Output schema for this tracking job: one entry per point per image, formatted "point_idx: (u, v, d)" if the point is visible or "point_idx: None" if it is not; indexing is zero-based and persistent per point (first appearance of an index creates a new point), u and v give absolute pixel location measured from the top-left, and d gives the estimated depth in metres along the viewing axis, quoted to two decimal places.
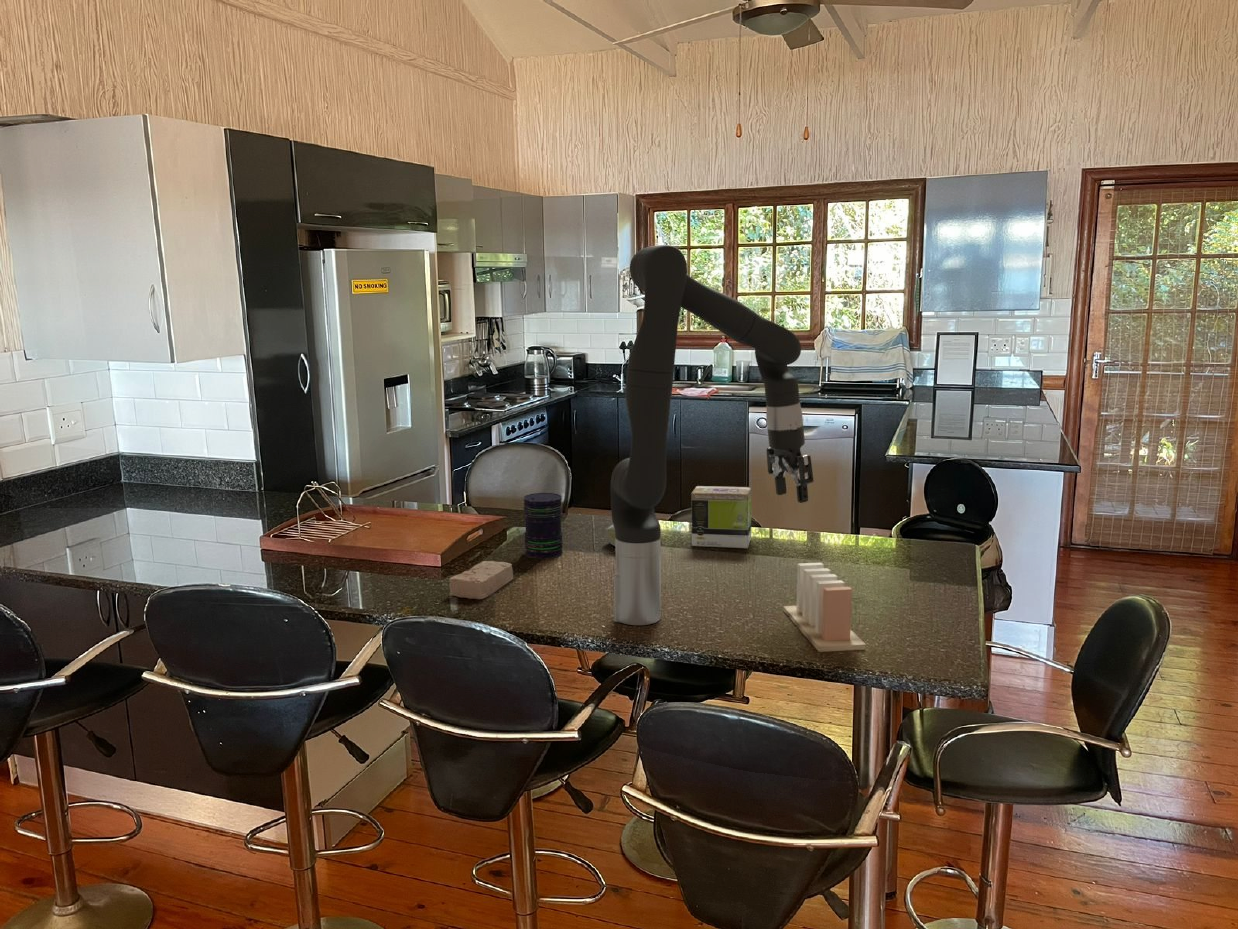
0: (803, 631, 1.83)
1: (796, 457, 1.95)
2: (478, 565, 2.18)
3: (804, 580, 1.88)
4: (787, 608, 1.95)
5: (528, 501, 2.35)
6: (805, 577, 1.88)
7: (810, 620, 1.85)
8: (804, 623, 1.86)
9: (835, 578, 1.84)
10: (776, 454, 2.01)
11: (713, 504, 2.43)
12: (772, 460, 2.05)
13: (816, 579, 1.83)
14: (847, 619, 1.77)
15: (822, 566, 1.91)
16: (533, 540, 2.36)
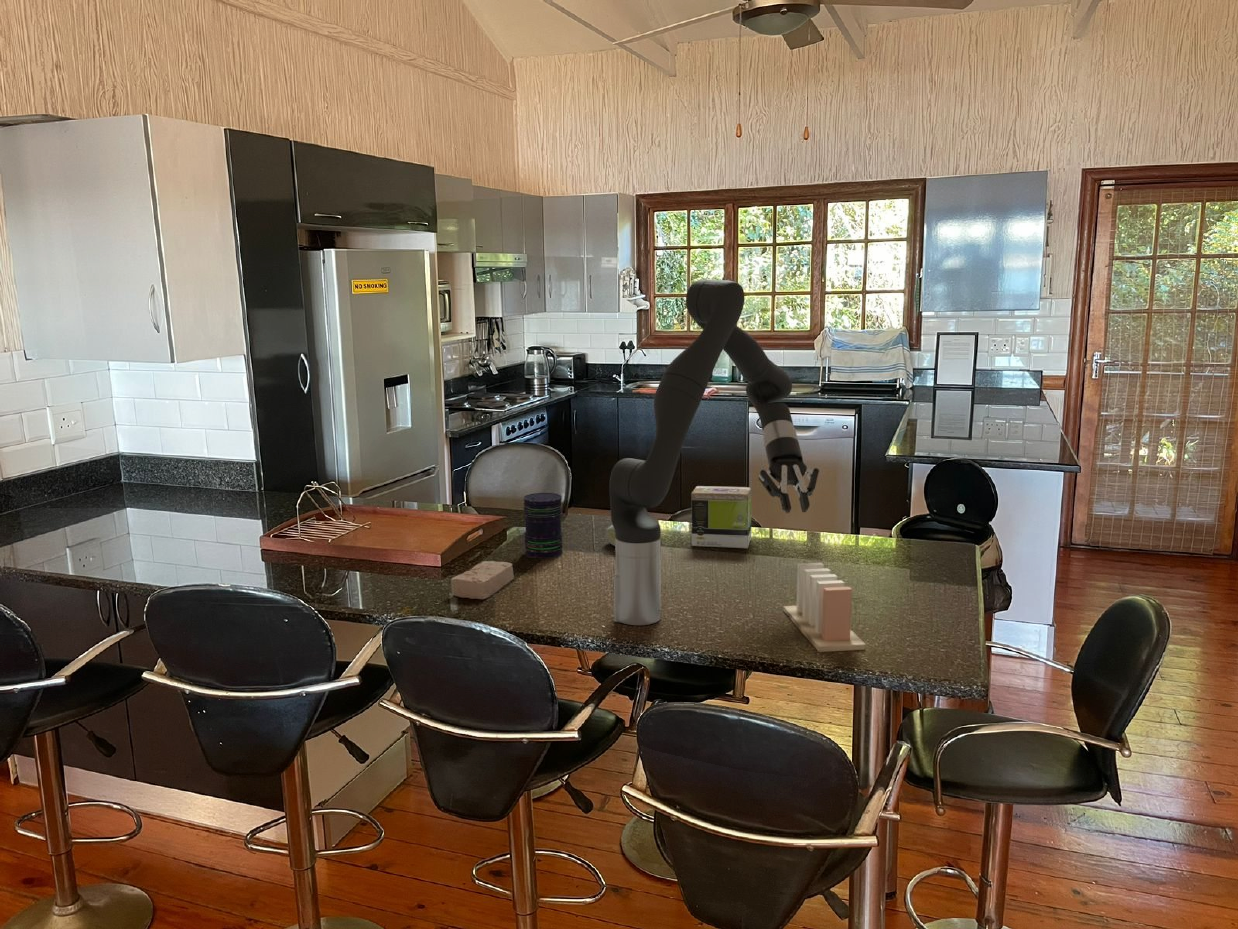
0: (803, 631, 1.83)
1: (807, 468, 2.06)
2: (478, 565, 2.18)
3: (804, 580, 1.88)
4: (787, 608, 1.95)
5: (528, 501, 2.35)
6: (805, 577, 1.88)
7: (810, 620, 1.85)
8: (804, 623, 1.86)
9: (835, 578, 1.84)
10: (775, 467, 2.04)
11: (713, 504, 2.43)
12: None
13: (816, 579, 1.83)
14: (847, 619, 1.77)
15: (822, 566, 1.91)
16: (533, 540, 2.36)
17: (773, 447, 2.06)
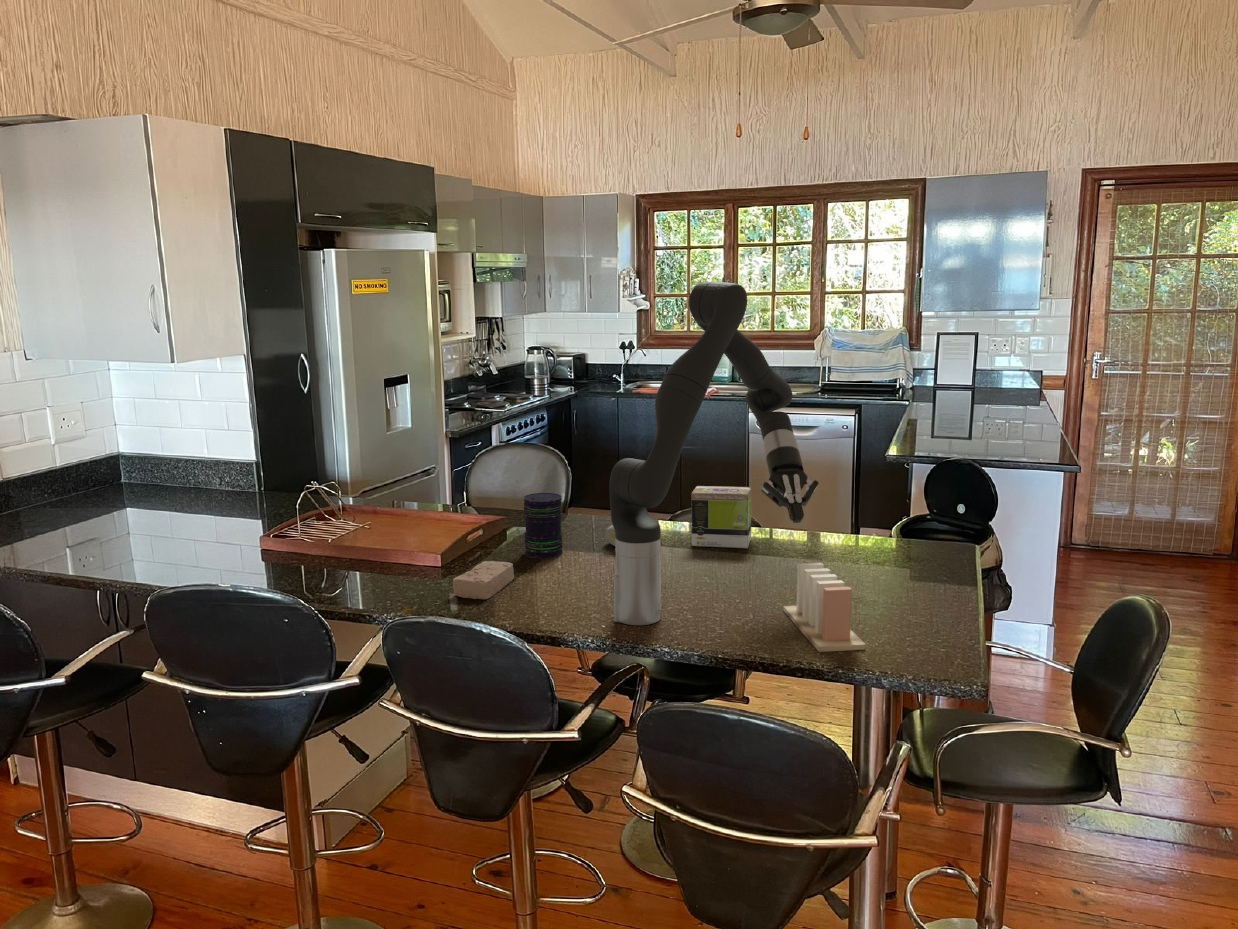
0: (803, 631, 1.83)
1: (807, 479, 2.05)
2: (479, 565, 2.18)
3: (804, 580, 1.88)
4: (787, 608, 1.95)
5: (528, 501, 2.35)
6: (805, 577, 1.88)
7: (810, 620, 1.85)
8: (804, 623, 1.86)
9: (835, 578, 1.84)
10: (776, 477, 2.04)
11: (713, 504, 2.43)
12: None
13: (816, 579, 1.83)
14: (847, 619, 1.77)
15: (822, 566, 1.91)
16: (533, 540, 2.36)
17: (774, 457, 2.06)
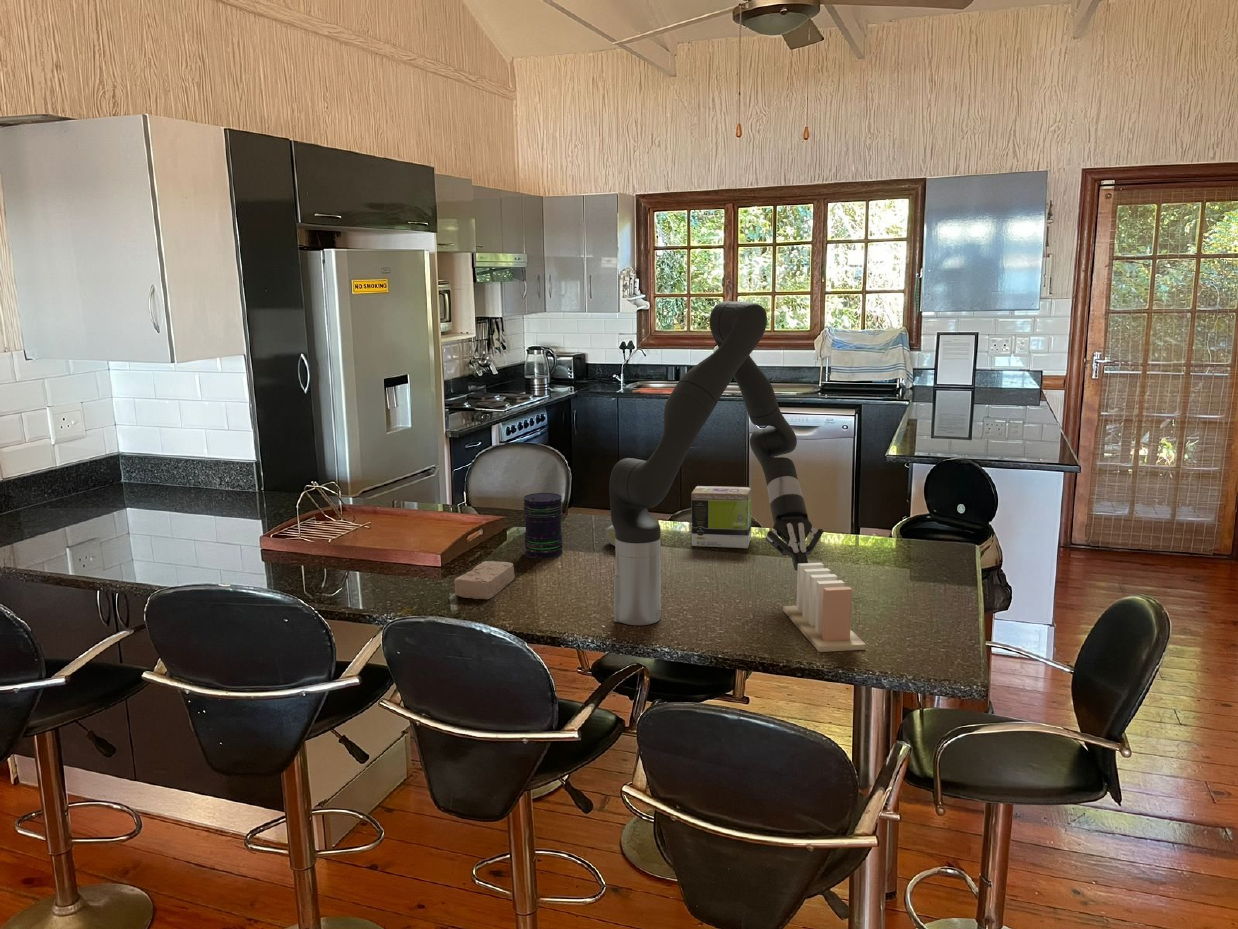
0: (803, 631, 1.83)
1: (811, 527, 2.03)
2: (480, 565, 2.18)
3: (804, 580, 1.88)
4: (787, 608, 1.95)
5: (528, 501, 2.35)
6: (805, 577, 1.88)
7: (810, 620, 1.85)
8: (804, 623, 1.86)
9: (835, 578, 1.84)
10: (780, 525, 2.02)
11: (713, 504, 2.43)
12: None
13: (816, 579, 1.83)
14: (847, 619, 1.77)
15: (822, 566, 1.91)
16: (533, 540, 2.36)
17: (778, 504, 2.04)
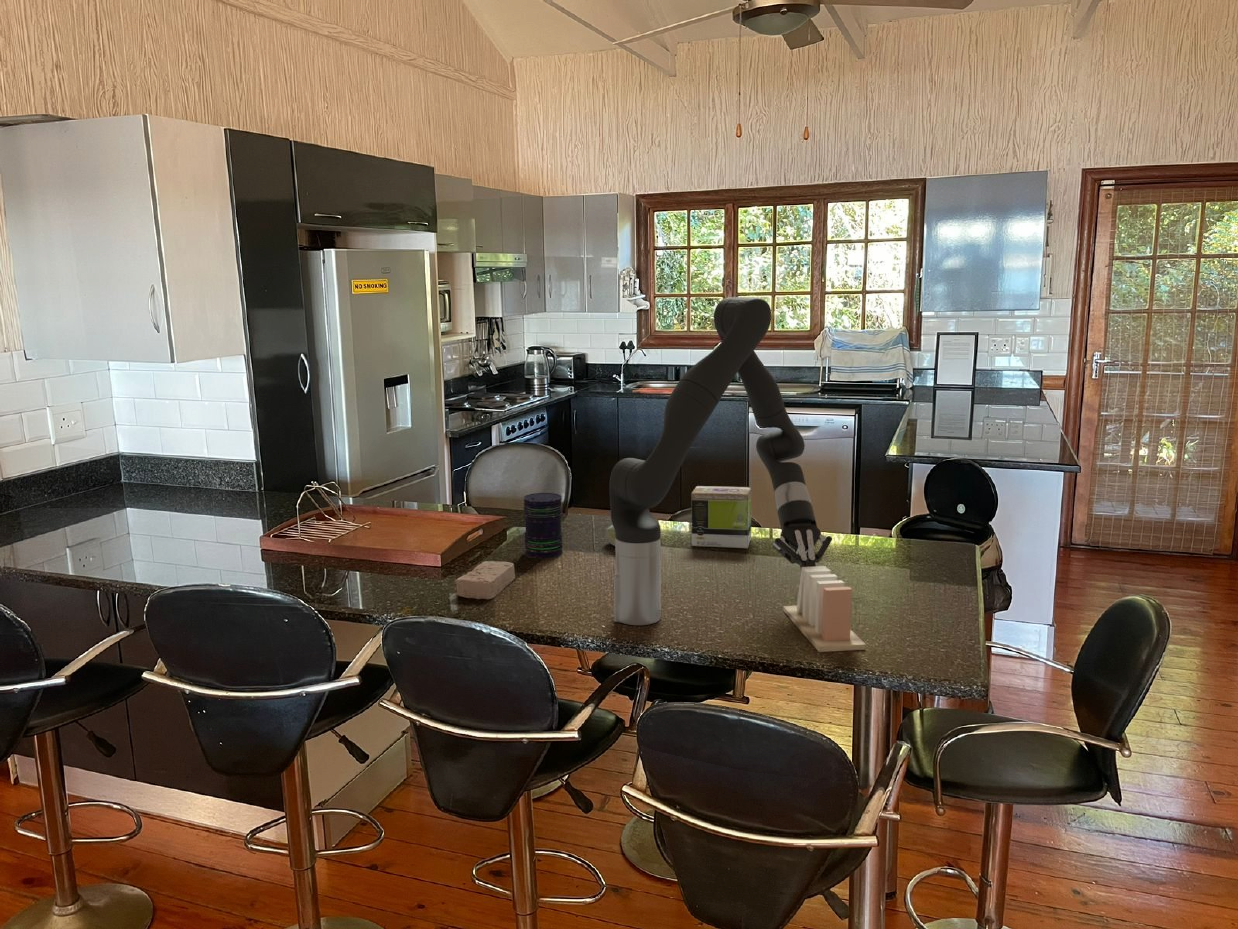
0: (803, 631, 1.83)
1: (820, 534, 1.97)
2: (480, 565, 2.18)
3: (804, 580, 1.88)
4: (787, 608, 1.95)
5: (528, 501, 2.35)
6: (805, 577, 1.87)
7: (810, 620, 1.85)
8: (804, 623, 1.86)
9: (835, 578, 1.84)
10: (788, 532, 1.96)
11: (713, 504, 2.43)
12: None
13: (816, 579, 1.83)
14: (847, 619, 1.77)
15: None
16: (533, 540, 2.36)
17: (786, 511, 1.98)
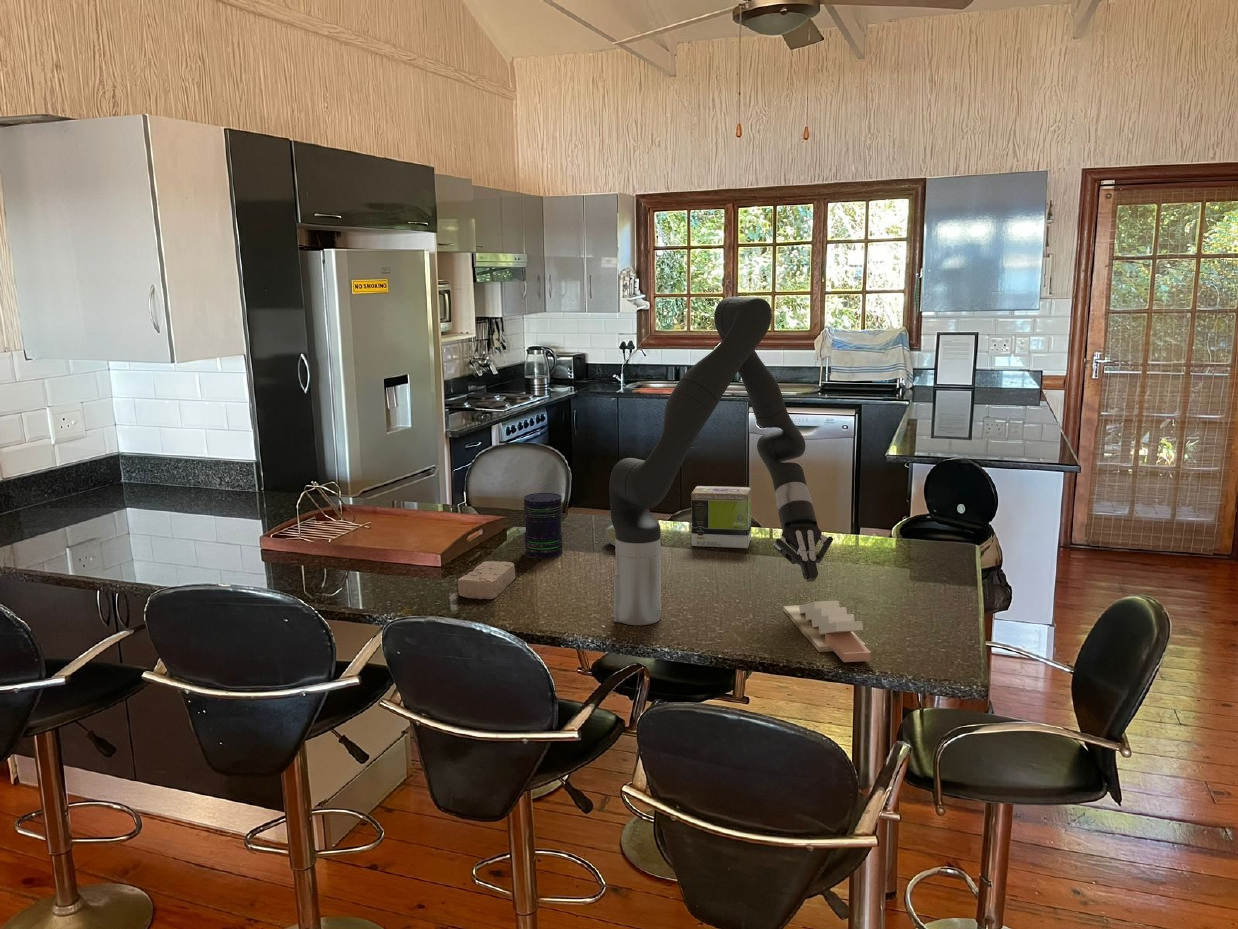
0: (803, 631, 1.83)
1: (821, 535, 1.97)
2: (481, 566, 2.18)
3: (817, 611, 1.81)
4: (787, 608, 1.95)
5: (528, 501, 2.35)
6: (819, 614, 1.80)
7: (813, 624, 1.83)
8: (804, 623, 1.86)
9: None
10: (789, 533, 1.96)
11: (713, 504, 2.43)
12: None
13: None
14: None
15: None
16: (533, 540, 2.36)
17: (786, 511, 1.97)
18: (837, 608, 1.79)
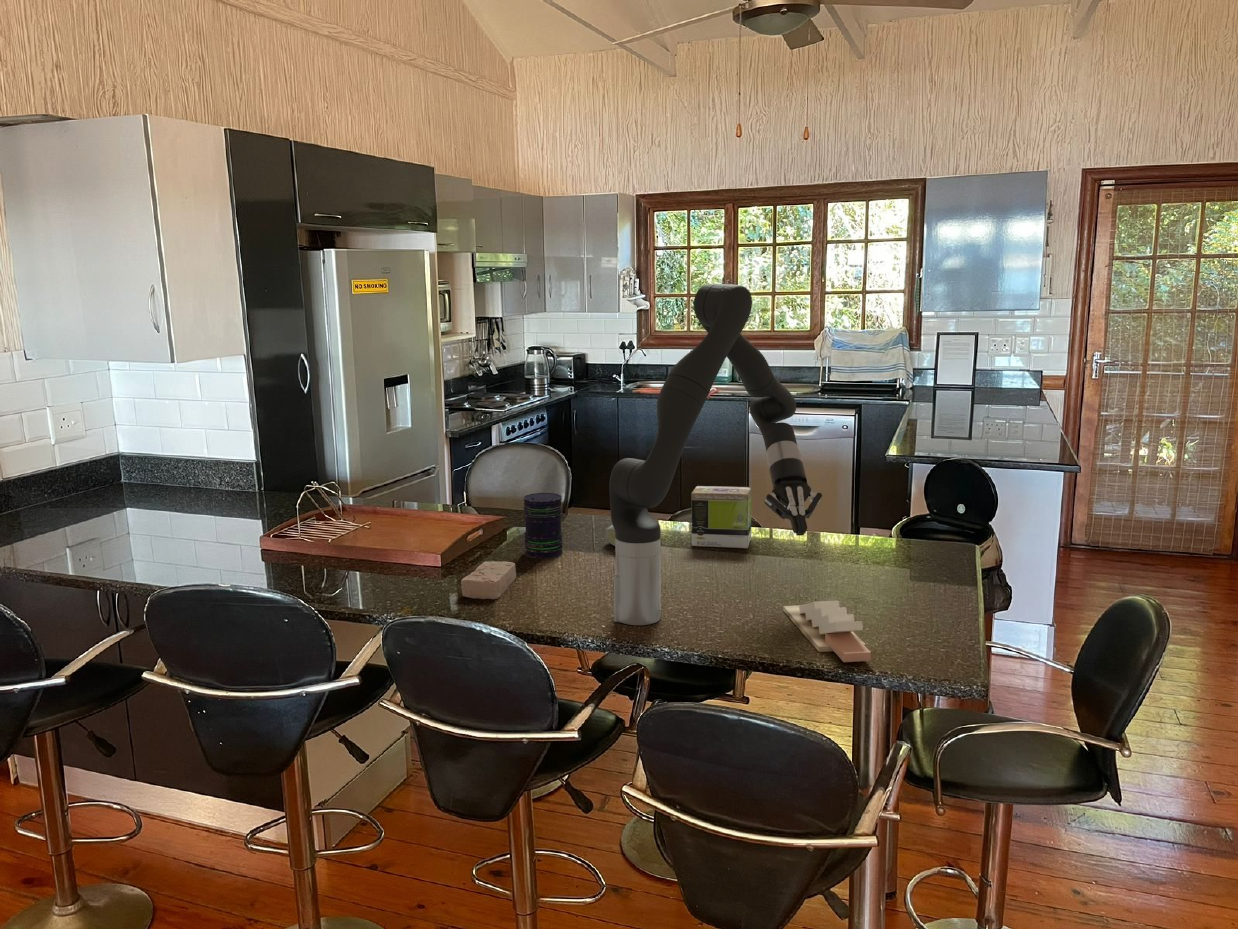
0: (803, 631, 1.83)
1: (810, 491, 2.03)
2: (482, 566, 2.17)
3: (817, 611, 1.81)
4: (787, 608, 1.95)
5: (528, 501, 2.35)
6: (819, 614, 1.80)
7: (813, 624, 1.83)
8: (804, 623, 1.86)
9: None
10: (779, 489, 2.02)
11: (713, 504, 2.43)
12: None
13: None
14: None
15: None
16: (533, 540, 2.36)
17: (777, 468, 2.04)
18: (837, 608, 1.79)
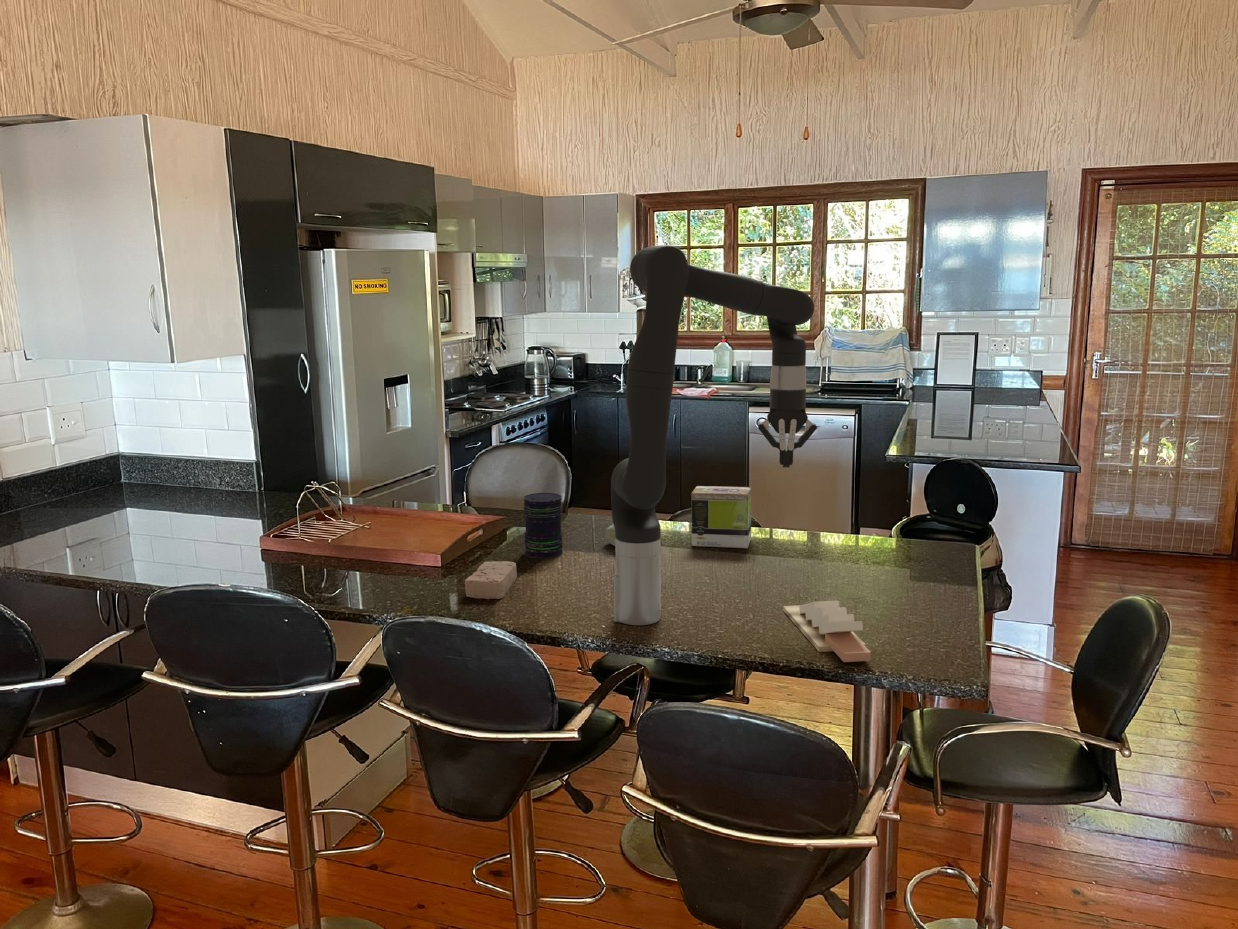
0: (803, 631, 1.83)
1: (806, 420, 1.98)
2: (483, 566, 2.17)
3: (817, 611, 1.81)
4: (787, 608, 1.95)
5: (528, 501, 2.35)
6: (819, 614, 1.80)
7: (813, 624, 1.83)
8: (804, 623, 1.86)
9: None
10: (773, 418, 1.98)
11: (713, 504, 2.43)
12: (769, 433, 1.99)
13: None
14: None
15: None
16: (533, 540, 2.36)
17: (774, 398, 1.96)
18: (837, 608, 1.79)
